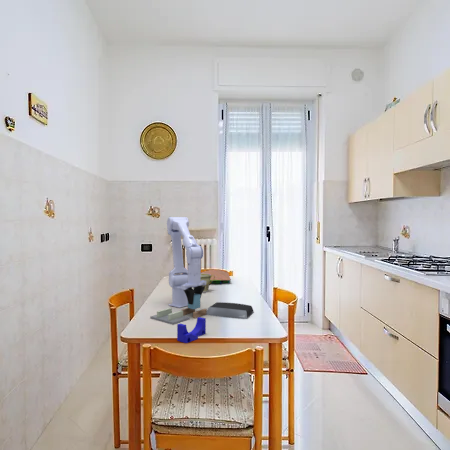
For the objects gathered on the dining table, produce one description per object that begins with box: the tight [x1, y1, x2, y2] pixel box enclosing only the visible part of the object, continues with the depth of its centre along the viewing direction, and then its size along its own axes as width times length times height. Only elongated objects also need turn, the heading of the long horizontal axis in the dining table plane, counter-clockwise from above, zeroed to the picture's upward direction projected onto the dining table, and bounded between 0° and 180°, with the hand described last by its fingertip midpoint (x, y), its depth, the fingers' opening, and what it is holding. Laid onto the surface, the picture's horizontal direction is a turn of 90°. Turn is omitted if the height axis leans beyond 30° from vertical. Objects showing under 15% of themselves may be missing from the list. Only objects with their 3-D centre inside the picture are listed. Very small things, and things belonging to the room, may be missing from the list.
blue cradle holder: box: [176, 316, 207, 344], centre depth 131 cm, size 12×4×6 cm, turn 142°
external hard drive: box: [205, 301, 255, 320], centre depth 164 cm, size 13×19×4 cm
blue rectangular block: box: [187, 293, 201, 310], centre depth 161 cm, size 4×4×6 cm
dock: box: [149, 307, 191, 326], centre depth 154 cm, size 10×14×3 cm
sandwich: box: [201, 268, 231, 285], centre depth 246 cm, size 23×33×8 cm
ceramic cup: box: [201, 273, 215, 294], centre depth 209 cm, size 13×10×10 cm
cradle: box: [181, 307, 208, 319], centre depth 161 cm, size 8×8×2 cm
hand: (194, 303), depth 161 cm, fingers closed on blue rectangular block, 4 cm apart
